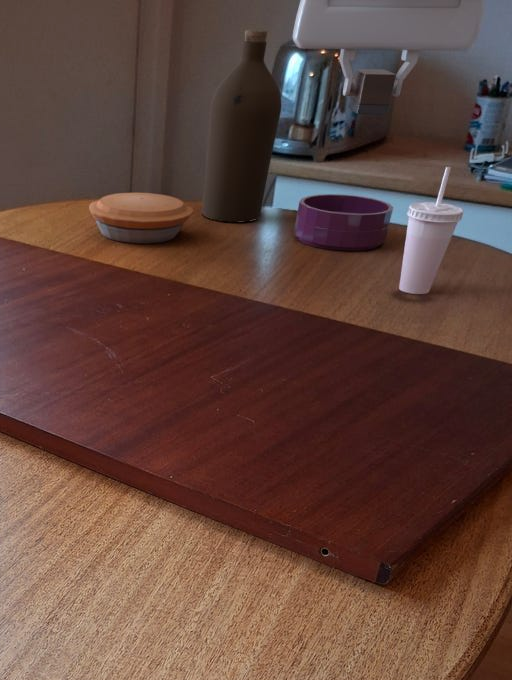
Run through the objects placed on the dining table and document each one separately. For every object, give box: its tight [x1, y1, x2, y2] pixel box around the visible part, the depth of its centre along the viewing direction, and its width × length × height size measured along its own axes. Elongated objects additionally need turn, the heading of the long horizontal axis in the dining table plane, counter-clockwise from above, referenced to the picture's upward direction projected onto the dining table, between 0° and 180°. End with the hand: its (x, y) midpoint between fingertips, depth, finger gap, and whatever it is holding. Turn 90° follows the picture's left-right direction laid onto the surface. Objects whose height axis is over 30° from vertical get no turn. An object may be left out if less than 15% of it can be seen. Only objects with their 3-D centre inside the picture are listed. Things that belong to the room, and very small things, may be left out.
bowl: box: [293, 193, 394, 252], centre depth 130 cm, size 13×13×5 cm
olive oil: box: [201, 29, 282, 224], centre depth 135 cm, size 11×11×25 cm
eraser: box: [347, 68, 397, 116], centre depth 104 cm, size 6×4×4 cm, turn 174°
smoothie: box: [398, 166, 464, 295], centre depth 108 cm, size 6×6×14 cm
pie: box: [88, 192, 194, 245], centre depth 131 cm, size 15×16×5 cm
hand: (370, 95), depth 104 cm, fingers closed on eraser, 3 cm apart
